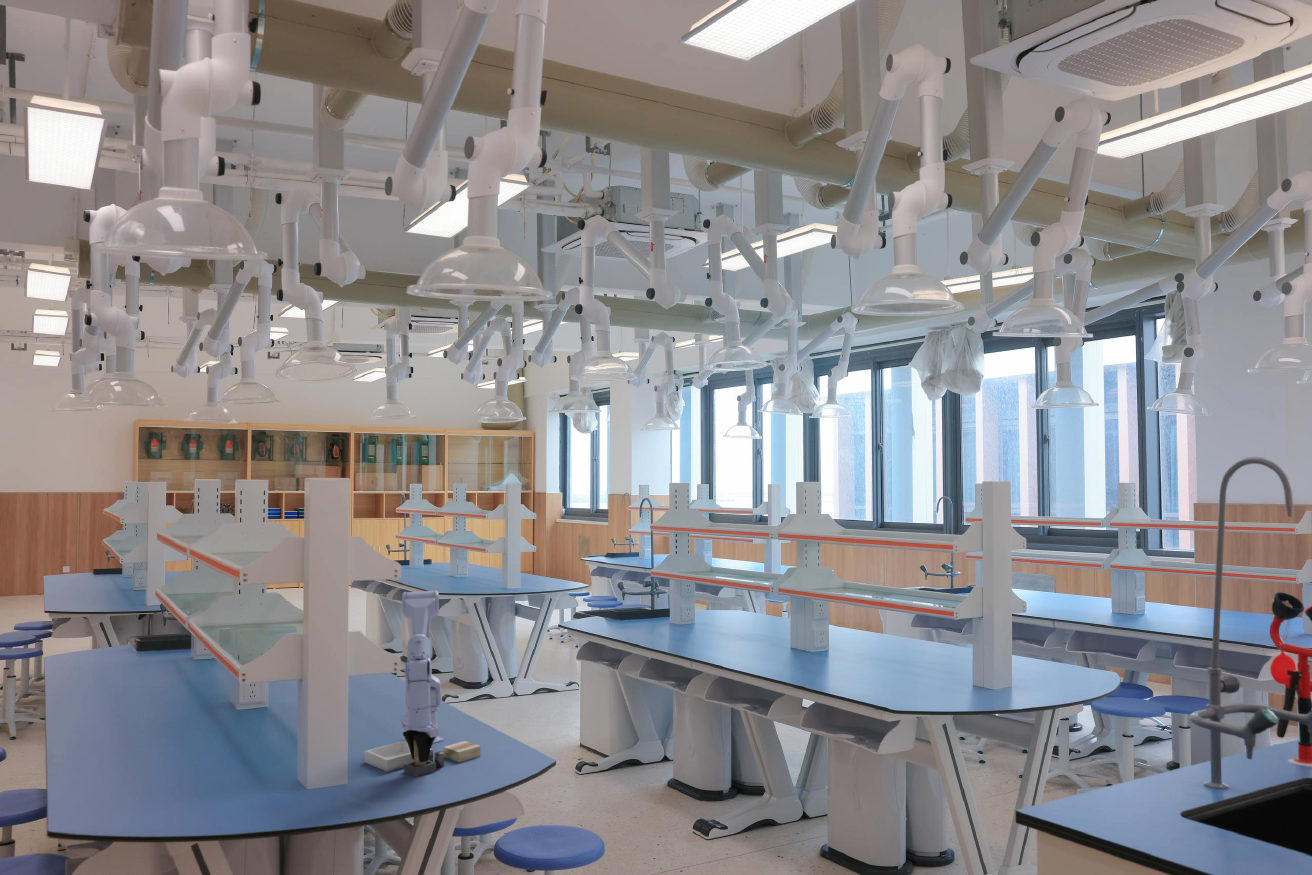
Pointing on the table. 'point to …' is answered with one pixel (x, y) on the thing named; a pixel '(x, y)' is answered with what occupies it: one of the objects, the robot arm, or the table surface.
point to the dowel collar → (420, 768)
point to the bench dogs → (437, 758)
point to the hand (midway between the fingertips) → (420, 759)
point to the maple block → (462, 751)
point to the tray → (389, 756)
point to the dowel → (417, 757)
